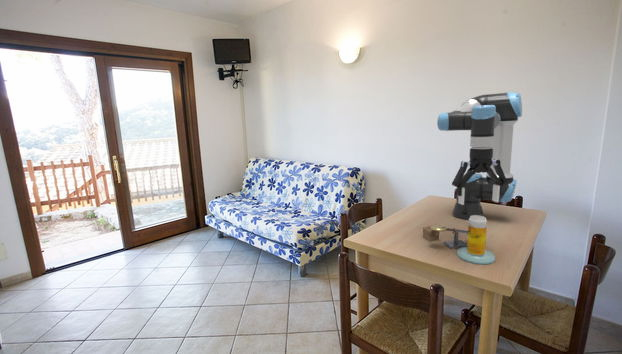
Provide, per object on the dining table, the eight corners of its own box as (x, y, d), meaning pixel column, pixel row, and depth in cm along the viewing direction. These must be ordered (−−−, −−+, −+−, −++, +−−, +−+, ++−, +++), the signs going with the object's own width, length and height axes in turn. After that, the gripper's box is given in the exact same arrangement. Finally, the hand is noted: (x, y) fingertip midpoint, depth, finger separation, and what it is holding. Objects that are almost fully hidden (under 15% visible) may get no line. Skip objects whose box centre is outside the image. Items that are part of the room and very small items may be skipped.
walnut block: (431, 235, 138) (431, 225, 137) (439, 239, 133) (439, 229, 132) (422, 237, 137) (422, 227, 136) (429, 241, 132) (430, 231, 131)
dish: (481, 248, 122) (481, 245, 122) (502, 263, 109) (503, 260, 109) (451, 250, 122) (451, 247, 121) (468, 265, 109) (469, 262, 109)
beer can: (463, 250, 118) (465, 215, 115) (478, 249, 119) (480, 214, 116) (473, 257, 112) (475, 220, 109) (488, 256, 113) (490, 219, 110)
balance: (475, 240, 130) (476, 221, 128) (485, 246, 124) (486, 226, 122) (427, 243, 129) (427, 224, 128) (434, 250, 123) (434, 230, 121)
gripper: (506, 144, 113) (502, 197, 117) (443, 148, 112) (441, 202, 116) (521, 146, 105) (516, 203, 109) (453, 150, 104) (451, 207, 108)
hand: (478, 202), depth 113 cm, fingers open, 13 cm apart
